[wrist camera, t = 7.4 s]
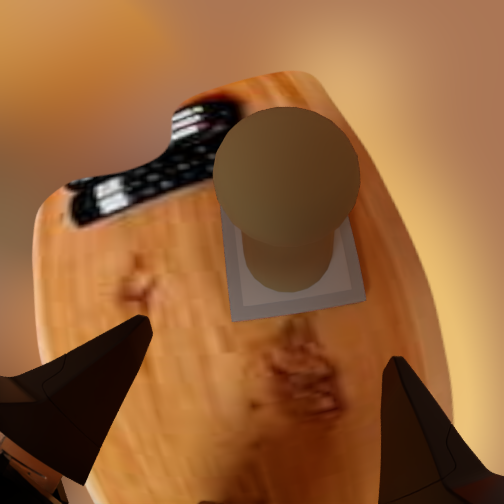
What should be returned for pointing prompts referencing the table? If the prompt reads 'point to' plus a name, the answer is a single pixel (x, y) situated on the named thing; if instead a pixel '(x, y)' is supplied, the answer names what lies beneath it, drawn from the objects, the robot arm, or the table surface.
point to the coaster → (285, 303)
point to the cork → (287, 192)
